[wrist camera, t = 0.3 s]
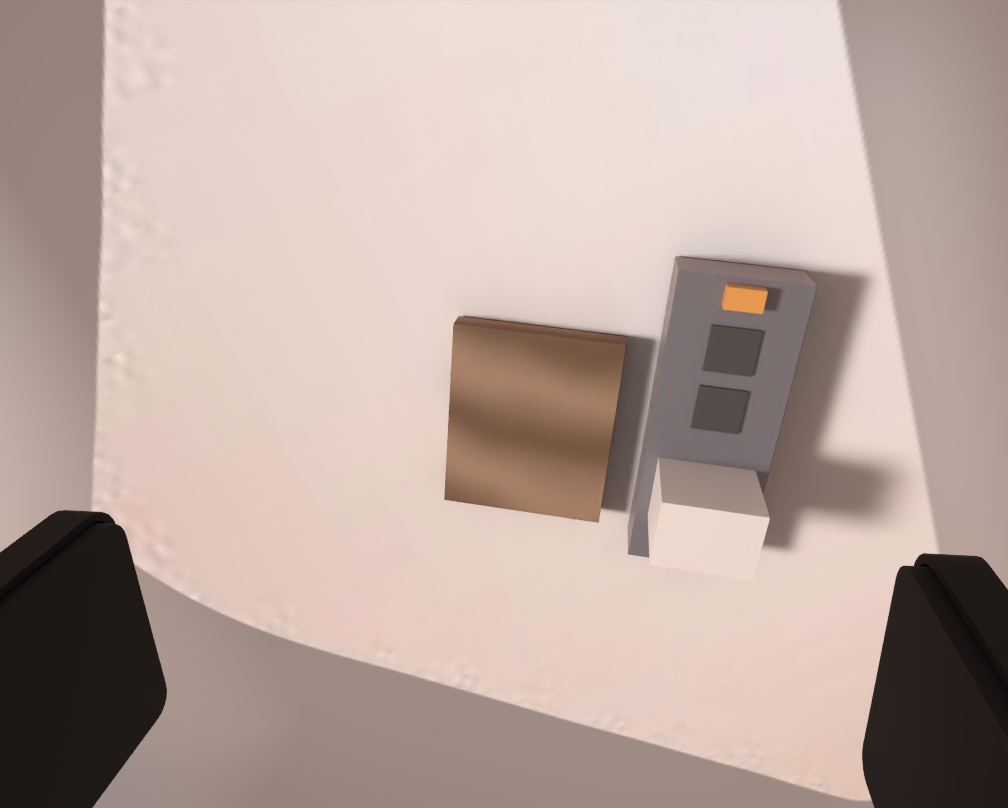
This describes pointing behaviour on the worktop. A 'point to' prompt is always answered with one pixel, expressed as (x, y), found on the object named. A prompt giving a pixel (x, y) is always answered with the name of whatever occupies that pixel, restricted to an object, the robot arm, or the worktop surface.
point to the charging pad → (531, 417)
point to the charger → (706, 519)
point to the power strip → (721, 372)
